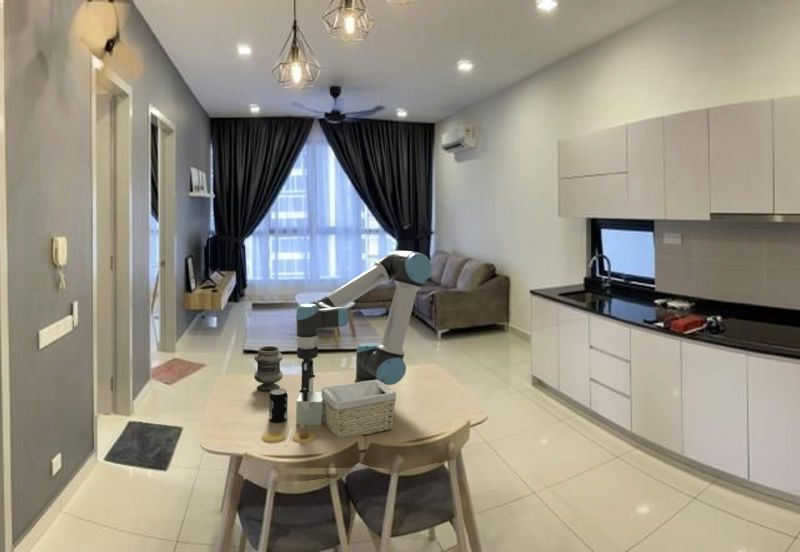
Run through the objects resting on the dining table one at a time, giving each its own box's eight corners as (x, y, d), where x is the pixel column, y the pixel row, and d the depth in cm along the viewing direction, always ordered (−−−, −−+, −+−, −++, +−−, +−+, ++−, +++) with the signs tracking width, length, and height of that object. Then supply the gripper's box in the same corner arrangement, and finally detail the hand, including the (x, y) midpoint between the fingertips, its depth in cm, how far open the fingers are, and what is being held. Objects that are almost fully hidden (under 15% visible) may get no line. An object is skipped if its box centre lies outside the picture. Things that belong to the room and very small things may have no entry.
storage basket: (335, 443, 167) (336, 401, 165) (318, 424, 181) (319, 386, 179) (396, 431, 178) (398, 392, 177) (377, 414, 192) (378, 378, 191)
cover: (325, 392, 186) (301, 391, 186) (321, 401, 176) (296, 401, 176) (324, 417, 188) (300, 416, 187) (321, 428, 178) (296, 427, 177)
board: (317, 432, 174) (317, 418, 173) (313, 450, 161) (314, 435, 161) (265, 432, 172) (265, 418, 172) (257, 450, 160) (258, 434, 159)
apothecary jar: (253, 393, 209) (253, 352, 206) (254, 384, 220) (255, 345, 218) (282, 392, 211) (283, 351, 209) (282, 382, 223) (283, 344, 221)
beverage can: (282, 427, 177) (283, 395, 176) (265, 425, 179) (266, 393, 177) (290, 420, 184) (290, 389, 182) (273, 418, 185) (274, 387, 184)
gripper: (300, 337, 192) (301, 389, 194) (292, 356, 167) (292, 415, 170) (320, 337, 192) (320, 389, 195) (314, 356, 168) (314, 415, 170)
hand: (307, 401), depth 182 cm, fingers open, 13 cm apart
